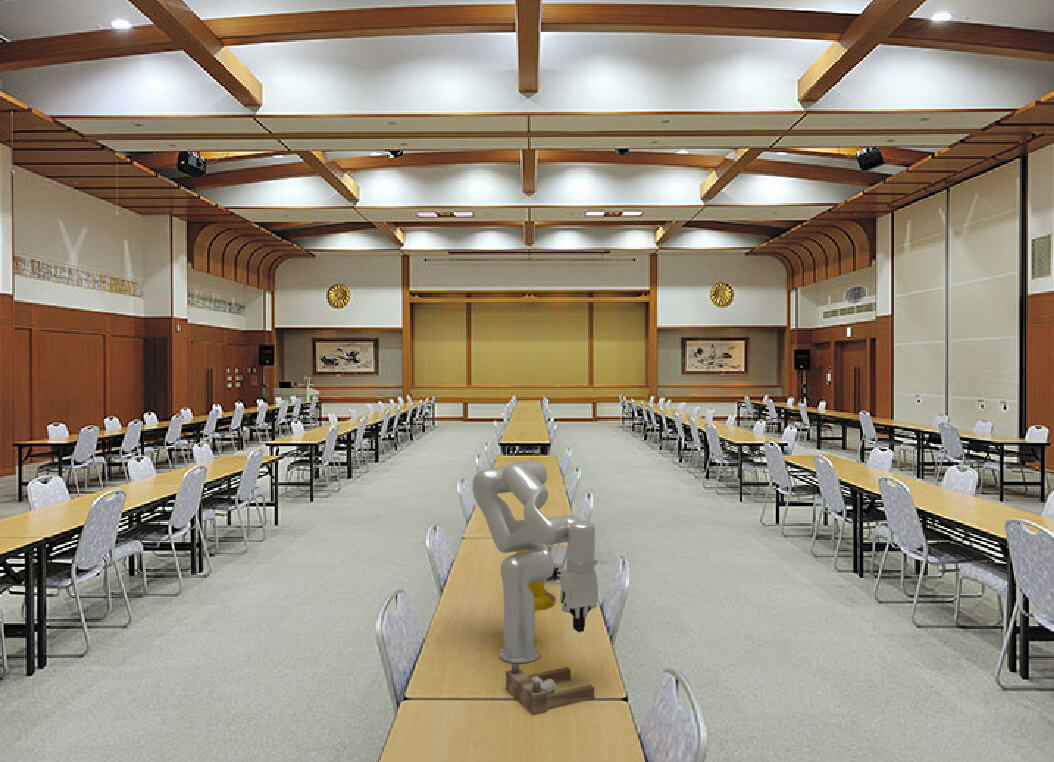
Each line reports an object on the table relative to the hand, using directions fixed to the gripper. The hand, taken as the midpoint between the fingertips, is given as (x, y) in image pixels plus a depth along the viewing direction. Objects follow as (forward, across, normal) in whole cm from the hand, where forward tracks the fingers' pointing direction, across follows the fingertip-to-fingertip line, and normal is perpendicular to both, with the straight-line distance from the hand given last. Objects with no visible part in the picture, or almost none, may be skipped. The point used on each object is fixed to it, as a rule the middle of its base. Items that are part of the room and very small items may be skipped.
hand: (578, 630), depth 207 cm
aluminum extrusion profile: (+20, -47, -101) cm, 113 cm away
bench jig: (+16, +10, +2) cm, 19 cm away
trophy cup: (+19, -20, -71) cm, 76 cm away
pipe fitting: (+16, +11, +1) cm, 20 cm away
